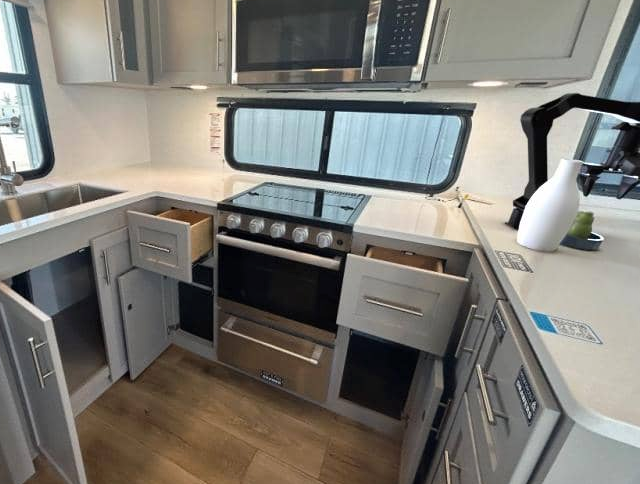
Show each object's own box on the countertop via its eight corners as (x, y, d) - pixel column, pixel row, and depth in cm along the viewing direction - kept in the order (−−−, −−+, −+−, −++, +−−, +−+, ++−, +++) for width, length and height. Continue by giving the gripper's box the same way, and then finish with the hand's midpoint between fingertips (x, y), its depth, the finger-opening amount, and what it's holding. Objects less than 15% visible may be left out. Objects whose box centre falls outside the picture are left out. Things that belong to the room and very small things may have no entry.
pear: (571, 244, 99) (586, 213, 95) (556, 237, 104) (570, 207, 100) (589, 245, 99) (605, 214, 95) (573, 238, 104) (588, 208, 100)
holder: (565, 248, 98) (571, 237, 96) (540, 234, 108) (545, 224, 106) (608, 253, 96) (614, 242, 95) (579, 238, 106) (584, 228, 105)
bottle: (508, 235, 106) (540, 155, 96) (553, 243, 101) (591, 160, 91) (516, 247, 96) (552, 160, 86) (565, 257, 92) (609, 166, 82)
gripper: (614, 148, 92) (588, 202, 98) (692, 153, 89) (661, 208, 95) (583, 143, 102) (561, 192, 108) (652, 148, 99) (626, 197, 105)
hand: (601, 197), depth 104 cm, fingers open, 9 cm apart
